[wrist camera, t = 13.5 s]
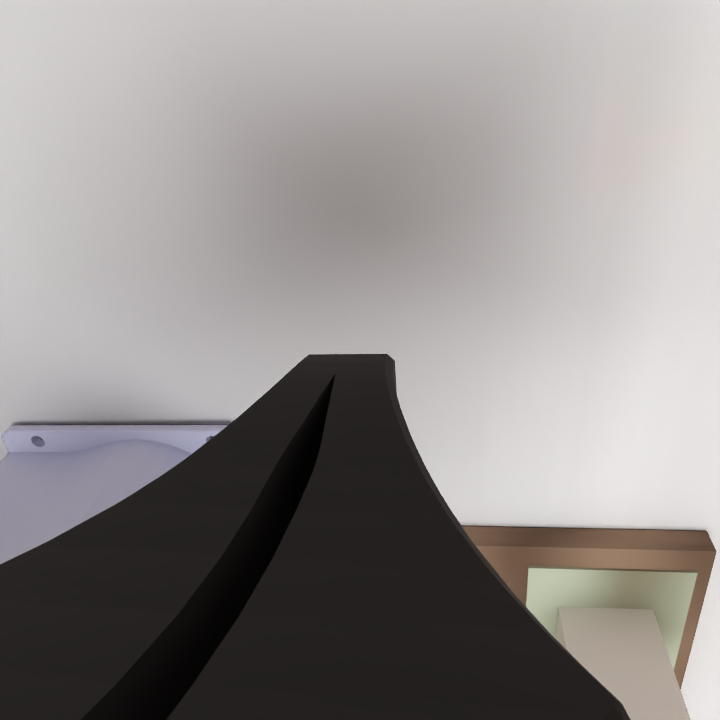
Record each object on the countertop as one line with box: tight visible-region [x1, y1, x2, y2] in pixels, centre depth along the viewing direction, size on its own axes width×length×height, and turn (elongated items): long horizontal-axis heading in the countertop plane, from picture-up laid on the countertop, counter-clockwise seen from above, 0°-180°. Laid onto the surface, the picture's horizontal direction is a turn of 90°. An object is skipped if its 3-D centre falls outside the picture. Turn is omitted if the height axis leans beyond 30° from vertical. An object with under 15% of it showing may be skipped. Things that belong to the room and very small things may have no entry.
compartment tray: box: [462, 526, 716, 689], centre depth 27 cm, size 14×17×3 cm
